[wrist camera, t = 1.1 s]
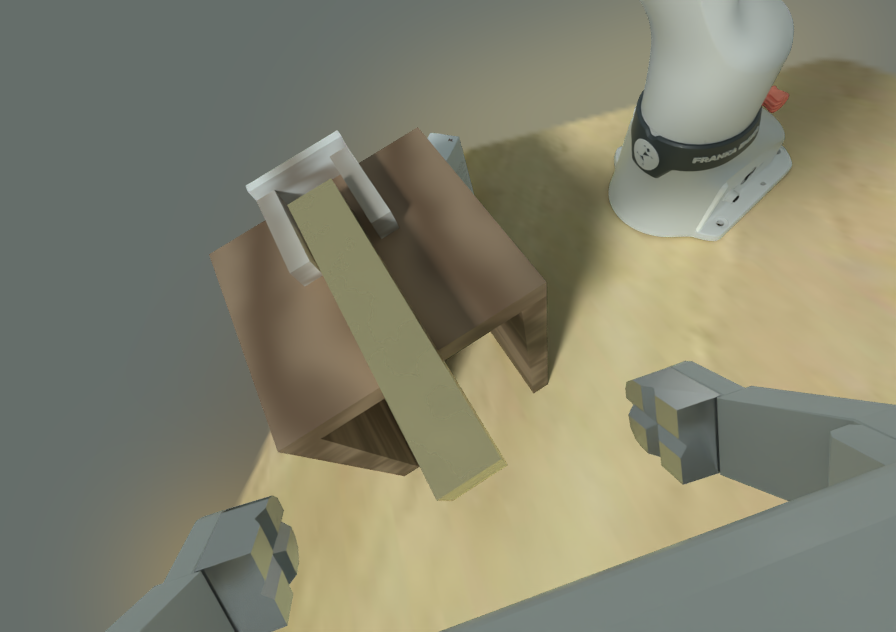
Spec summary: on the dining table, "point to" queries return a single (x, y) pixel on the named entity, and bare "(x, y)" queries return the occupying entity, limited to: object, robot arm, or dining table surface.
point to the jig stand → (414, 269)
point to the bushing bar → (397, 348)
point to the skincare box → (452, 154)
